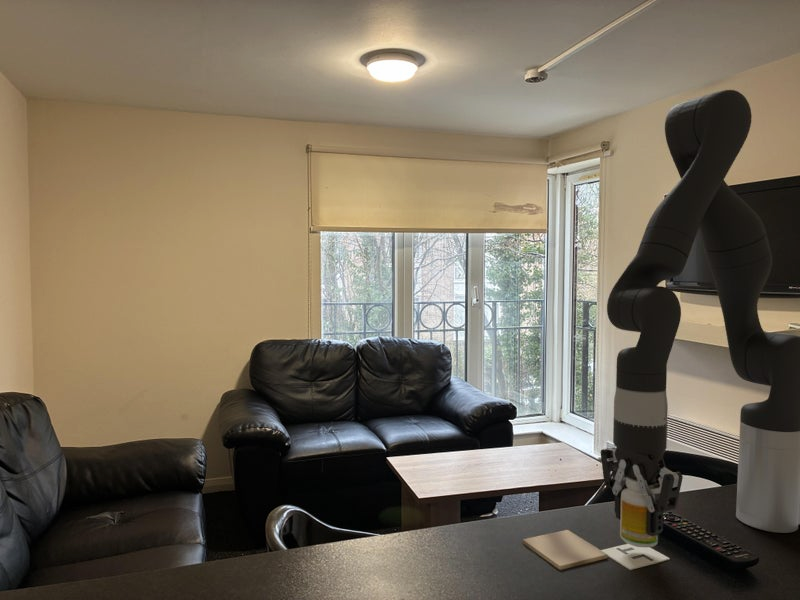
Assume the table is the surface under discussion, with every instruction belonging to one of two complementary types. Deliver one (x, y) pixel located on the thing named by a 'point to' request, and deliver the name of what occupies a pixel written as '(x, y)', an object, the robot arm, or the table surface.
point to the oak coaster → (564, 549)
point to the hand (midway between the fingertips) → (637, 525)
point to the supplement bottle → (635, 516)
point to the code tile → (634, 556)
